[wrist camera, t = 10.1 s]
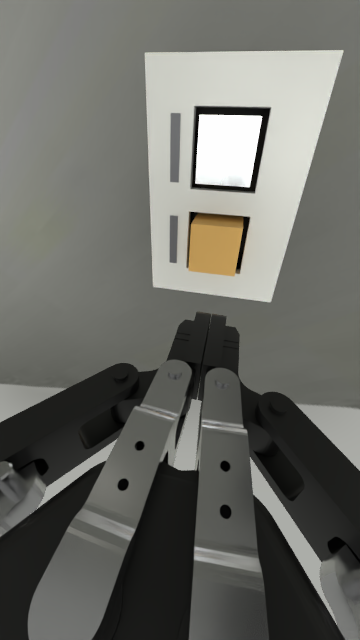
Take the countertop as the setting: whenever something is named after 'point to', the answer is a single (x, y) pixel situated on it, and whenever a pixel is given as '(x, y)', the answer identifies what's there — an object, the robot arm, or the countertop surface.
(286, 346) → the countertop surface
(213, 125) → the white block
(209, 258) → the tan cardboard-coloured cube
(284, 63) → the panel
